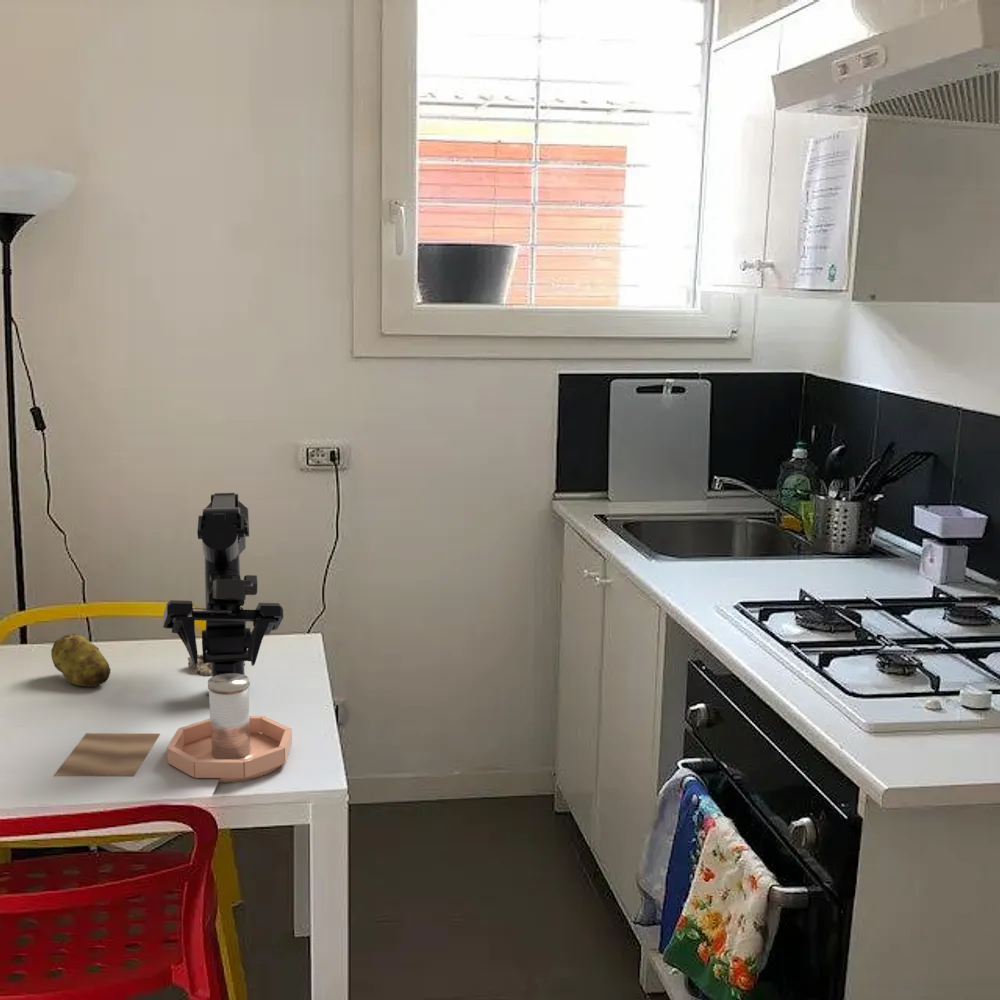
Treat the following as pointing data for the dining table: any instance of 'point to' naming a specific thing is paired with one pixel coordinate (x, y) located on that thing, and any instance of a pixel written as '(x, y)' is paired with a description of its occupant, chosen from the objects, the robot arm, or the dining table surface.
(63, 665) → the potato
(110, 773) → the walnut board
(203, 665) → the mineral rock
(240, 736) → the polished metal canister
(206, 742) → the terracotta bowl
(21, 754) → the dining table surface
